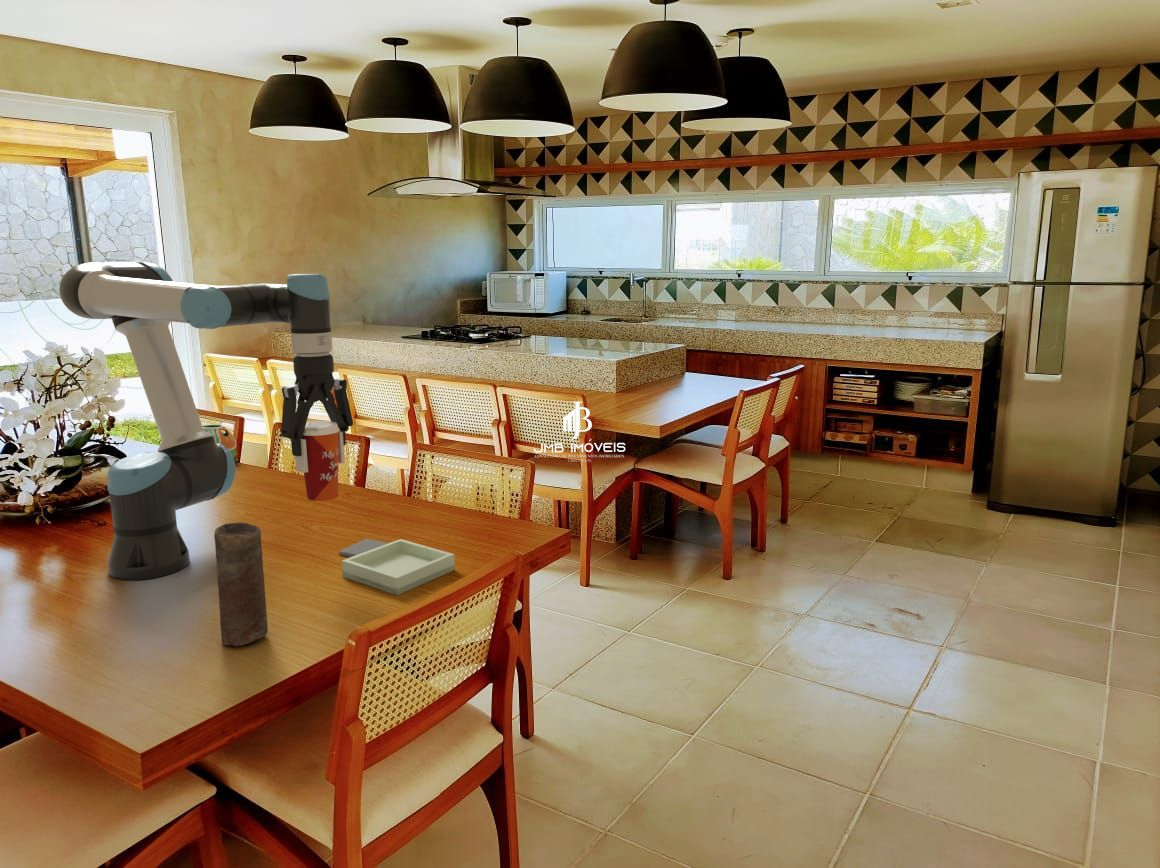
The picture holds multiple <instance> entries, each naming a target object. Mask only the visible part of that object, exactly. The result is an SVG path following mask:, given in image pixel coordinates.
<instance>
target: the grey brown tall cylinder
mask: <svg viewBox="0 0 1160 868" xmlns="http://www.w3.org/2000/svg"><path fill="white" fill-rule="evenodd" d="M213 537H214V546H215V547H214V548H215V549H214V550H215V560H216V573H217V574H216V577H217V588H218V605H219V606H218V607H219V620H220V621H219V623H220V635H221V643H222V645H223V646H235V647H240V646H245V645H246V644H250V643H253V642H257V641H259V640H261V639H263V638H265V636H267V633H268V631H269V630H268V614H267V601H266V600H267V599H266V591H265V589H266V588H265V587H266V586H265V574H264V562H263V561H264V560H263V547H262V530H261V528H260V527H259V526H257V525H254V524H250V523H248V522H240V521H239V522H232V523H231V522H230V523H229V522H228V523H224V524H223V525H220V526H218V527H216V528H215V530H214V535H213Z"/></svg>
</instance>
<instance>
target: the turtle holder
mask: <svg viewBox="0 0 1160 868" xmlns="http://www.w3.org/2000/svg"><path fill="white" fill-rule="evenodd" d="M202 427H203V429H204V430H205V431H206V432H208V433H210V434H212V435H213V436H214V439H215V442H216V444H221V445H223V446H225V447H226V450H229V451H230V452H231V454H232V456H233V458H234V461H235V462H238V461H239V460H238V458H236V457H237V456H238V452H237V441H236V439H235V437H234V435H233V433H232V431H230V430H229V429H228V428H227V427H226V426H225V425H224V424H215V423H212V424H210V423H209V424H202Z"/></svg>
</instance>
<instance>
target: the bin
mask: <svg viewBox="0 0 1160 868" xmlns="http://www.w3.org/2000/svg"><path fill="white" fill-rule="evenodd" d="M387 543H388V544H386V545H383V546H380V547H377V548H375V549H372V550H369V551H366V552H364V553H361V554H358V555H356V556H353V557H348V558H347V557H346V559H343V560H341V569H342V578H346V579H348V580H351V581H354V582H357V583H360V584H362V585H365V586H369V587H372V588H375V589H377V590H381V591H383V592H387V593H389V594H392V595H395V594H396V596H399V595H401V594H403V593H406V592H408V591H410V590H412V589H414V588H416V587H419V586H422V585H424V584H426V583H429V582H430V581H433V580H435V579H437V578H439V577H442V576H444V575H446V574H449V573H451V572H453V570H454V571H455V569H456V568H455V567H456V565H455V554H454V553H451V552H448V551H445V550H442V549H441V550H440V549H437V548H435V547H429V546H427V545H424V544H419V543H415V542H413V541H410V540H406V539H401V538H399V539H397V540H395V541H391V542H387ZM405 591H406V592H405Z"/></svg>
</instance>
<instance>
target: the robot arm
mask: <svg viewBox="0 0 1160 868" xmlns="http://www.w3.org/2000/svg"><path fill="white" fill-rule="evenodd" d="M58 290H59V296H60V299H61V302H62V303H63V304H64V306H65V307H66V308H67V309H68V310H69V312H71V313H72V314H73V315H74V314H75V315H76V316H77V317H81V318H85V319H91V320H106V319H107V320H109V319H111V320H112V324H113V326H114V329H115V331H116V332H118V333H120V334H122V335H124V336H125V337H126V340H127V343H128V346H129V349H130V352H131V354H132V358H133V360H134V363H135V367H136V368H137V369H136V370H137V372H138V375H139V378H140V381H141V384H142V386H143V389H144V392H145V395H146V398H147V401H148V404H149V407H150V409H151V412H152V415H153V418H154V421H155V424H156V427H157V430H158V434H159V436H160V438H161V443H160V445H159V447H158V449H157V451H149V452H143V453H136V454H132V455H128V456H126V457H123V458H121V459H119V460H117V461H115V462H113V463H112V464H111V466H109V468H108V471H107V486H106V487H107V488H106V489H107V491H108V493H109V494H108V495H109V503H110V510H111V519H112V526H113V536H114V537H113V541H112V544H111V549H110V553H109V556H108V562H107V568H108V574H109V576H111V578H115V579H118V580H123V581H124V580H126V581H134V580H136V581H138V580H139V581H140V580H141V581H142V580H148V579H156V578H160V577H164V576H168V575H171V574H174V573H176V572H178V571H180V570H183V569H184V568H186V567H187V566H188V565H189V564H190V561H191V559H190V551H189V548H188V546H187V545H186V542H185V540H184V538H183V536H182V535H181V532H180V530H179V529H178V523H177V513H176V511H177V510H180V509H185V508H187V507H190V506H194V505H197V504H201V503H203V502H206V501H210V500H214V499H216V498H217V497H219V496H222V495H224V494H226V493H228V491H229V490H230V489H231V488H232V486H233V482H234V481H235V478H236V471H237V470H236V463H235V461H234V458H233V456H232V454H231V452H230V451H229V450H226V447H225V446H223V445H221V444H216V442H215V439H214V436H213V435H212V434H210V433H208V432H206V431H205V430H204V429H203V427H202V426H203V424H202V421H201V419H200V416H199V413H198V412H199V411H198V409H197V407H196V403H195V401H194V398H193V395H192V393H191V389H190V387H189V383H188V381H187V377H186V374H185V371H184V369H183V366H182V363H181V360H180V358H179V354H178V351H177V348H176V345H175V341H174V340H173V337H172V334H171V331H170V327H169V325H170V323H171V322H174V323H181V324H183V323H184V324H189V325H190V326H191V327H193V328H195V329H206V330H208V329H209V330H213V329H218V328H225V327H234V326H244V325H258V324H266V323H287V324H289V325H290V338H291V339H290V340H291V352H292V353H293V354H295V355H293V357H292V361H293V363H292V364H293V365H292V366H293V374H294V376H295V381H294V384H292V385H289V386H285V385H283V386H282V387H281V394H282V397H283V403H282V404H283V405H282V414H281V425H280V426H281V428H280V436H281V437H282V438H286V439H289V440H290V446H291V454H292V456H294V458H295V469H296V471H297V472H301V473H303V474H304V473H306V472H308V462H307V449H306V440H305V439H302V436H303V432H304V429H305V425H306V423H307V422H308V418H309V415H310V412H311V408H312V407H314V403H317V402H321V403H322V405H323V407H324V409H325V411H326V414H327V416H328V418H329V421H331V422H336V423H337V425H338V428H339V429H340V431H339V432H338V464H345V462H346V461H345V446H346V443H347V440H346V439H347V438H346V432H348V431H349V430H350V427H352V426H353V425H354V421H353V415H352V410H351V407H350V402H349V401H350V400H349V397H348V393H347V387H348V386H347V385H348V382H347V379H343V378H334V376H333V373H334V372H335V366H334V365H335V364H334V356H333V354H330V353H332V351H333V339H332V338H333V337H332V326H331V308H330V307H331V305H330V304H331V303H330V298H331V295H330V292H329V284H328V279H327V276H326V275H324V274H322V273H291V274H288V275H287V276H286V283H283V284H282V283H281V284H280V283H265V282H257V283H256V282H255V283H254V282H253V283H248V284H235V285H211V284H201V283H200V284H198V283H190V282H189V283H188V282H177V281H173V279H172V277H171V275H170V274H169V273H168V272H167V271H166V270H165V269H164V268H163V267H161V266H159V265H157V264H155V263H152V262H142V261H138V260H137V261H135V260H134V261H133V260H132V261H129V262H127V261H125V262H123V261H121V262H114V261H113V262H97V261H94V262H86V263H80V264H77V265H75V266H73V267H71V268H70V269H69V270H67V271H66V272H65V274H64V275H63V276H62V278H61V280H60V283H59V289H58ZM332 390H333V392H332ZM333 393H334V394H333Z"/></svg>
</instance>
